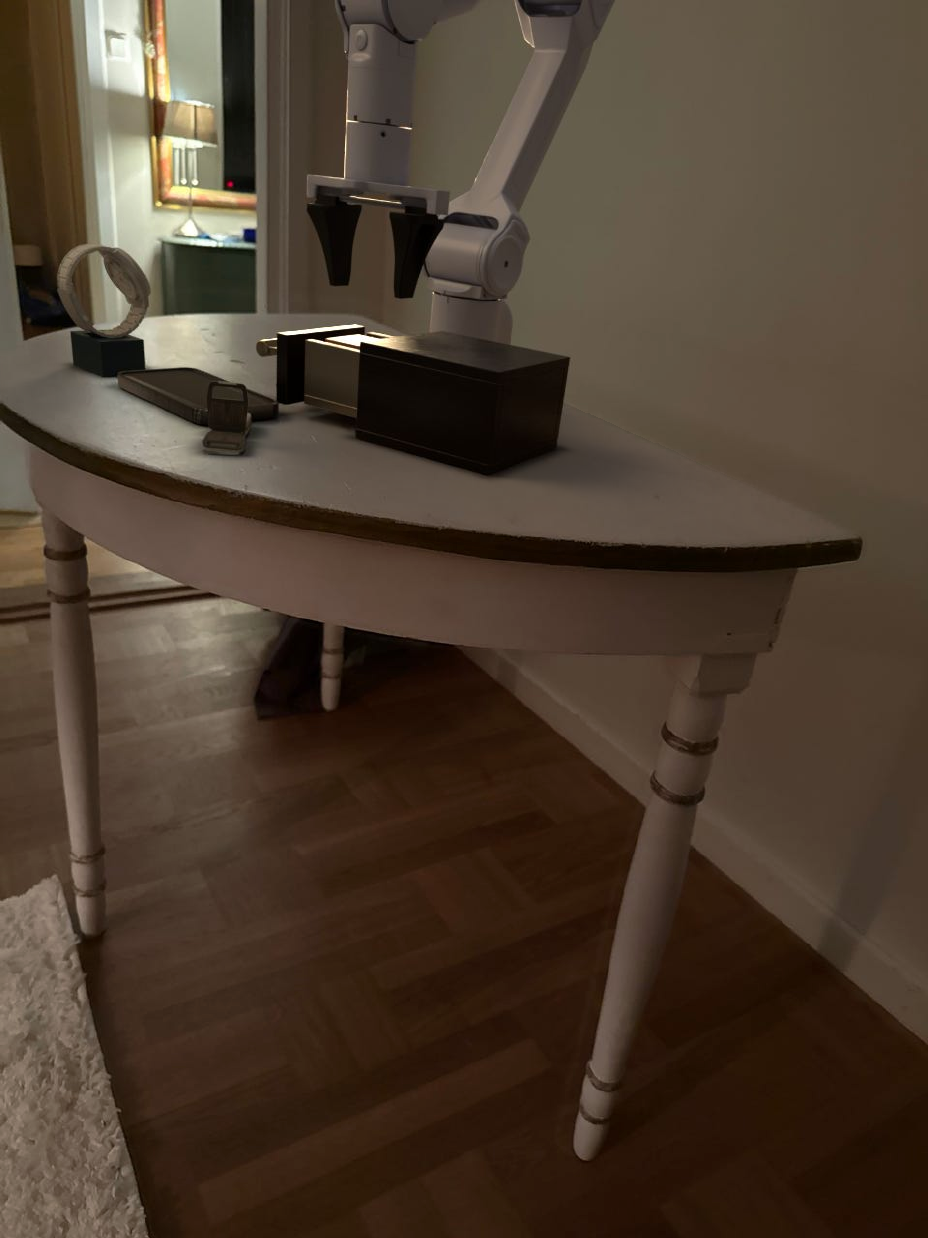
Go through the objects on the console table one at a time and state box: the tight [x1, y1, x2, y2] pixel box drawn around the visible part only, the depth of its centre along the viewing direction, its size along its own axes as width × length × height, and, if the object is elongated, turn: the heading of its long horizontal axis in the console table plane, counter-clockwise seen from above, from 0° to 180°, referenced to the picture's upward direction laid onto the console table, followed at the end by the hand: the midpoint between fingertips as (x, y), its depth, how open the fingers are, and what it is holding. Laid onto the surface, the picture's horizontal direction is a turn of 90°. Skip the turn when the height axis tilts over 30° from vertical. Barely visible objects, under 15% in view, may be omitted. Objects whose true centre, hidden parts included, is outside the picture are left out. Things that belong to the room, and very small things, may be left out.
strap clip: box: [201, 381, 252, 454], centre depth 66 cm, size 8×3×4 cm, turn 8°
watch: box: [56, 243, 152, 378], centre depth 82 cm, size 6×8×11 cm
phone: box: [117, 366, 280, 426], centre depth 76 cm, size 8×1×15 cm
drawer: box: [255, 324, 393, 419], centre depth 76 cm, size 16×10×6 cm, turn 58°
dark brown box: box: [355, 331, 571, 476], centre depth 71 cm, size 13×12×8 cm
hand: (370, 291), depth 82 cm, fingers open, 7 cm apart
